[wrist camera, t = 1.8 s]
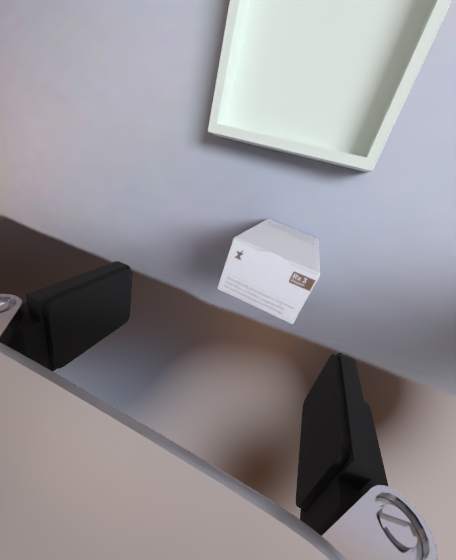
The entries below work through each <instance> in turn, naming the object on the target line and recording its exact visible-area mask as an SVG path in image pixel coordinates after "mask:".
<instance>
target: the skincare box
mask: <svg viewBox="0 0 456 560" xmlns="http://www.w3.org/2000/svg"><path fill="white" fill-rule="evenodd" d="M319 277H320V265H319V240H318V239H317V238H315V237H312V236H310V235H307V234H305V233H303V232H300V231H298V230H295V229H293V228H290V227H288V226H285V225H283V224H280V223H278V222H276V221H273V220H271V219H266V220H264V221H263V222H261V223H259V224H257V225H255V226H254V227H252V228H250V229H248V230H246V231H245V232H243V233H241V234H239V235H237V236H235V237H234V238H233V241H232V244H231V247H230V250H229V253H228V256H227V260H226V263H225V266H224V269H223V272H222V275H221V278H220V281H219V284H218V287H217V289H218V290H220V291H222V292H224V293H227V294H229V295H231V296H233V297H235V298H237V299H239V300H242V301H244V302H246V303H248V304H250V305H252V306H254V307H257V308H259V309H261V310H263V311H265V312H267V313H269V314H271V315H273V316H275V317H278V318H280V319H282V320H284V321H286V322H288V323H290V324H293V323H294V322H295V320H296V318H297V316H298V314H299V312H300V311H301V309H302V307H303V305H304V303H305V302H306V300H307V298H308V296H309V294H310V293H311V291H312V289H313V288H314V286H315V284H316V282H317V280H318V279H319Z"/></svg>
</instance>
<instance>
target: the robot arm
mask: <svg viewBox="0 0 456 560" xmlns="http://www.w3.org/2000/svg"><path fill="white" fill-rule="evenodd" d="M131 285H132V271H131V270H130V267H129V266H128V265H126V264H123V263H121V262H118V261H117V262H113V263H111V264H108V265H105V266H102V267H100V268H97V269H95V270H92V271H89V272H86V273H84V274H81V275H78V276H75V277H73V278H70V279H67V280H64V281H62V282H59V283H56V284H54V285H51V286H48V287H46V288H43V289H40V290H37V291H35V292H32V293H29V294H26V297H27V302H26V303H24V304H22V301H21V299H20V298H19V297H17V296H14V295H9V294H0V560H438V554H437V548H436V544H435V541H434V538H433V536H432V533H431V531H430V529H429V527H428V526H427V524H426V522H425V520H424V519H423V517H422V516H421V515H420V513H419V512H418V511H417V509H416V508H415V507H414V506H413V505H412V504H411V503H410V502H409V501H408V500H407V499H406V498H405V497H404V496H403V495H401V494H400V493H399V492H397V491H396V490H394V489H392V488H390V487H388V483H387V479H386V474H385V470H384V465H383V462H382V457H381V452H380V448H379V444H378V439H377V435H376V431H375V427H374V422H373V418H372V413H371V409H370V406H369V405H368V404H367V403H366V402H364V400H363V395H362V390H361V385H360V381H359V376H358V371H357V366H356V361H355V359H353V358H351V357H348V356H346V355H343V354H341V353H338V354H337V355H333V354H332V355H331V356H330V358H329V359H328V361H327V363H326V364H325V366H324V368H323V370H322V371H321V373H320V375H319V376H318V378H317V380H316V382H315V383H314V385H313V387H312V389H311V390H310V392H309V394H308V395H307V397H306V399H305V401H304V405H303V412H302V425H301V438H300V451H299V464H298V478H297V491H296V505H297V506H298V507H299V508H301V513H300V520H299V519H298V518H297V517H295V516H294V515H292V514H291V513H289V512H288V511H286V510H285V509H283V508H282V507H280V506H279V505H277V504H276V503H274V502H273V501H271V500H269V499H268V498H266V497H264V496H263V495H261V494H260V493H258V492H256V491H255V490H253V489H251V488H250V487H248V486H246V485H245V484H243V483H242V482H240V481H238V480H237V479H235V478H233V477H232V476H230V475H229V474H227V473H225V472H224V471H222V470H220V469H218V468H217V467H215V466H213V465H212V464H210V463H208V462H207V461H205V460H203V459H202V458H200V457H198V456H196V455H195V454H193V453H191V452H190V451H188V450H186V449H184V448H183V447H181V446H179V445H178V444H176V443H174V442H173V441H171V440H169V439H168V438H166V437H164V436H162V435H161V434H159V433H157V432H156V431H154V430H152V429H151V428H148V427H147V426H145V425H144V424H142V423H140V422H138V421H137V420H135V419H133V418H132V417H130V416H128V415H127V414H125V413H123V412H121V411H120V410H118V409H116V408H114V407H113V406H111V405H109V404H108V403H106V402H104V401H102V400H101V399H99V398H97V397H96V396H94V395H92V394H90V393H89V392H87V391H85V390H83V389H82V388H80V387H78V386H77V385H75V384H73V383H71V382H70V381H68V380H66V379H64V378H62V377H61V376H59V375H57V374H56V373H54V372H53V371H54V370H55V369H57V368H62V367H64V366H65V365H66V364H68V363H69V362H71V361H72V360H73V359H75V358H76V357H78V356H79V355H81V354H82V353H84V352H85V351H86V350H88V349H89V348H91V347H92V346H94V345H95V344H96V343H98V342H99V341H101V340H102V339H103V338H105V337H106V336H108V335H109V334H111V333H112V332H113V331H115V330H116V329H118V328H119V327H120V326H122V325H123V324H125V323H126V322H127V321H128V319H129V316H130V302H131Z"/></svg>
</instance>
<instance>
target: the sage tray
mask: <svg viewBox="0 0 456 560" xmlns="http://www.w3.org/2000/svg"><path fill="white" fill-rule="evenodd" d="M451 2H452V0H230V2H229V8H228V14H227V20H226V26H225V32H224V38H223V44H222V50H221V56H220V62H219V68H218V74H217V80H216V85H215V91H214V97H213V103H212V109H211V115H210V121H209V127H208V132H210V133H212V134H214V135H216V136H219V137H223V138H227V139H231V140H235V141H239V142H243V143H248V144H252V145H256V146H260V147H264V148H268V149H272V150H276V151H281V152H285V153H289V154H293V155H297V156H301V157H305V158H309V159H314V160H318V161H322V162H326V163H330V164H334V165H338V166H343V167H347V168H351V169H355V170H359V171H363V172H367V173H368V172H371V171H373V169H374V166H375V164H376V162H377V160H378V158H379V156H380V154H381V151H382V149H383V147H384V145H385V143H386V141H387V139H388V136H389V134H390V132H391V130H392V128H393V126H394V124H395V122H396V119H397V117H398V115H399V113H400V111H401V109H402V107H403V104H404V102H405V100H406V98H407V96H408V94H409V92H410V89H411V87H412V85H413V83H414V81H415V79H416V77H417V75H418V72H419V70H420V68H421V66H422V64H423V62H424V60H425V57H426V55H427V53H428V51H429V49H430V47H431V45H432V43H433V40H434V38H435V36H436V34H437V32H438V30H439V28H440V25H441V23H442V21H443V19H444V17H445V15H446V13H447V10H448V8H449V6H450V4H451Z"/></svg>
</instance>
